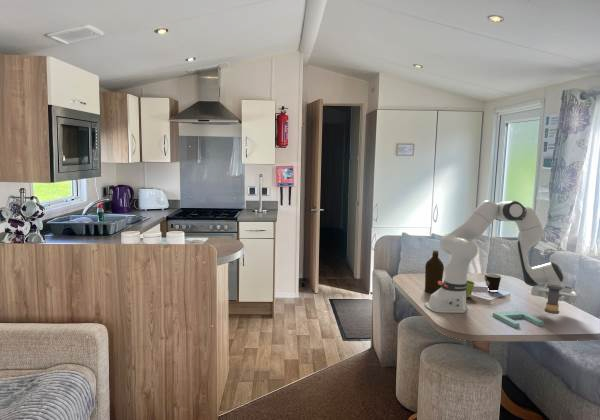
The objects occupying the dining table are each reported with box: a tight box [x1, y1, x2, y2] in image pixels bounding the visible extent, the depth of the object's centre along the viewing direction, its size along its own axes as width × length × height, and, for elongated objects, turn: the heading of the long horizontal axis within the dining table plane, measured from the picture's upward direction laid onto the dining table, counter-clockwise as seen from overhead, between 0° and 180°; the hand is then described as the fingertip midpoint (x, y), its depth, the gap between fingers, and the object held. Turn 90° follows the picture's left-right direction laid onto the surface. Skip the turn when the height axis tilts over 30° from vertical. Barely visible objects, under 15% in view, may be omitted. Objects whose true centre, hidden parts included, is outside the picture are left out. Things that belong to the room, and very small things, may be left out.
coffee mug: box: [484, 273, 502, 291], centre depth 282 cm, size 12×9×10 cm
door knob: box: [544, 284, 562, 315], centre depth 226 cm, size 6×6×13 cm
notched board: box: [492, 310, 545, 329], centre depth 231 cm, size 17×16×2 cm
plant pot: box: [466, 280, 476, 299], centre depth 268 cm, size 9×9×9 cm
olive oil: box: [424, 249, 445, 294], centre depth 275 cm, size 11×11×25 cm
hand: (553, 298), depth 225 cm, fingers closed on door knob, 5 cm apart
